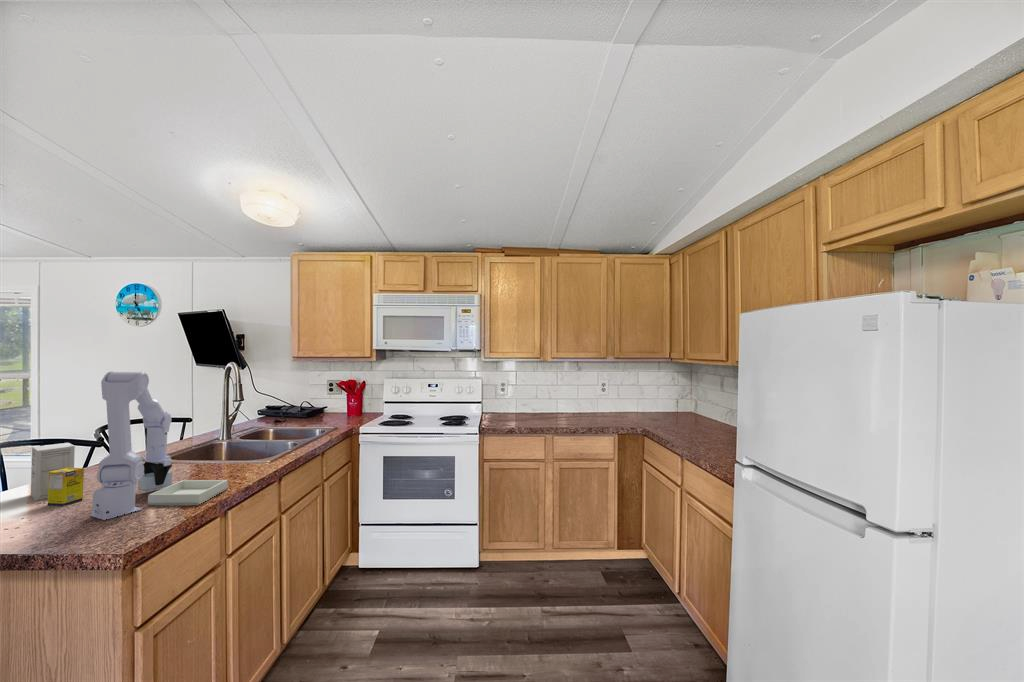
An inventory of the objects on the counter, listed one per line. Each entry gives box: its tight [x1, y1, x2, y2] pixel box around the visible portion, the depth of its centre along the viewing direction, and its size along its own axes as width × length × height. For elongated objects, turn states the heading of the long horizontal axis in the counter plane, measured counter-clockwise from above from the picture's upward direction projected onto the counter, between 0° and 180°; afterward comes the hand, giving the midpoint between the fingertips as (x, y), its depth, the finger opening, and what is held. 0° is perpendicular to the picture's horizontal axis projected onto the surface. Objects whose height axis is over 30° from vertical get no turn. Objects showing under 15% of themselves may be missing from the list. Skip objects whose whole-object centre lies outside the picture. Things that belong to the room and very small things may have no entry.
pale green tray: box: [147, 479, 229, 506], centre depth 149 cm, size 16×16×4 cm
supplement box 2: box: [30, 442, 76, 501], centre depth 150 cm, size 10×9×17 cm
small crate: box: [137, 470, 173, 493], centre depth 154 cm, size 8×5×5 cm, turn 156°
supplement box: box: [47, 467, 85, 507], centre depth 142 cm, size 6×6×11 cm
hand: (155, 483), depth 154 cm, fingers closed on small crate, 5 cm apart
